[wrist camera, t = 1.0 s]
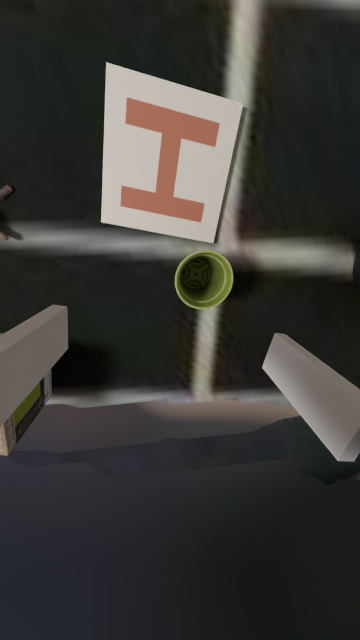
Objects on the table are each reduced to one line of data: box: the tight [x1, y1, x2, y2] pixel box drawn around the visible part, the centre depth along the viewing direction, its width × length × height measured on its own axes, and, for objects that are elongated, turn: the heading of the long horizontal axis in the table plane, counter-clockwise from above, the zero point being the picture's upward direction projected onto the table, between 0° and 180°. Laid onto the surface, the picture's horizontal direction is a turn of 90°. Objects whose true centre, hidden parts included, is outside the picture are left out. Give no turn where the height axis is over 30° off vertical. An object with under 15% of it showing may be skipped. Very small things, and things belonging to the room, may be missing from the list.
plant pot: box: [175, 250, 233, 309], centre depth 36 cm, size 9×9×9 cm
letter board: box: [101, 62, 243, 243], centre depth 33 cm, size 20×20×1 cm
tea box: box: [0, 333, 52, 455], centre depth 37 cm, size 15×10×15 cm, turn 168°
